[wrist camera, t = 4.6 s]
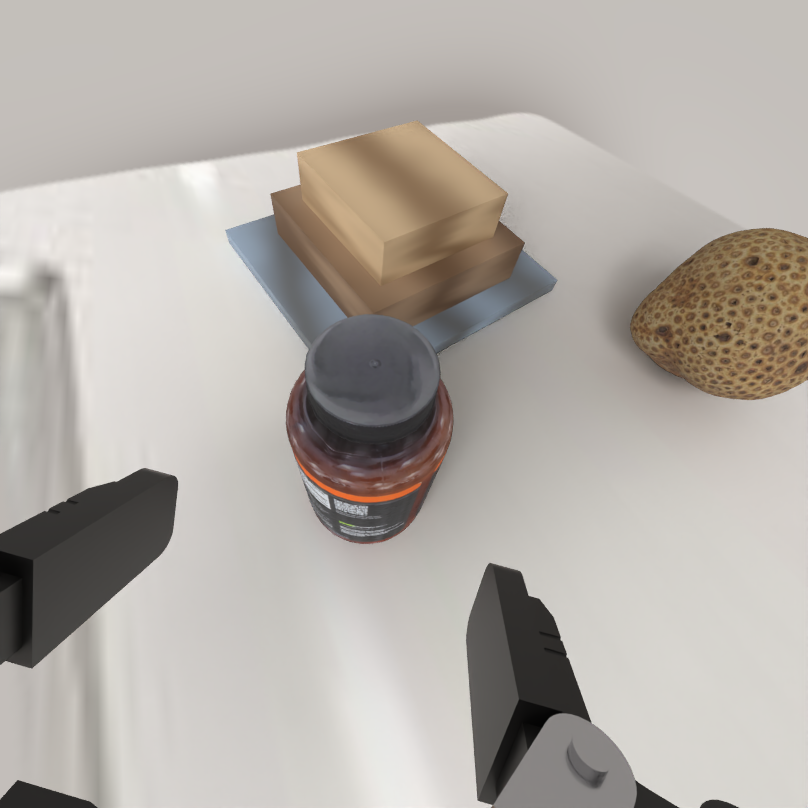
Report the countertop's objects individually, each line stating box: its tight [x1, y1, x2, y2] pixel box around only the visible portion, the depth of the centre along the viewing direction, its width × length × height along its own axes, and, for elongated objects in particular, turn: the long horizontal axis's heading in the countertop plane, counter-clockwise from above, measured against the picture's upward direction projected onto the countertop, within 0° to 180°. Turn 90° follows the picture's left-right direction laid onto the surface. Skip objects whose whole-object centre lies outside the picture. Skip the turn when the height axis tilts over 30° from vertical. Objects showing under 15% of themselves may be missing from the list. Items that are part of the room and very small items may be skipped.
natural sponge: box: [630, 228, 808, 400], centre depth 24 cm, size 9×9×10 cm
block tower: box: [225, 121, 557, 353], centre depth 27 cm, size 18×16×7 cm
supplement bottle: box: [286, 314, 453, 544], centre depth 17 cm, size 6×6×11 cm
